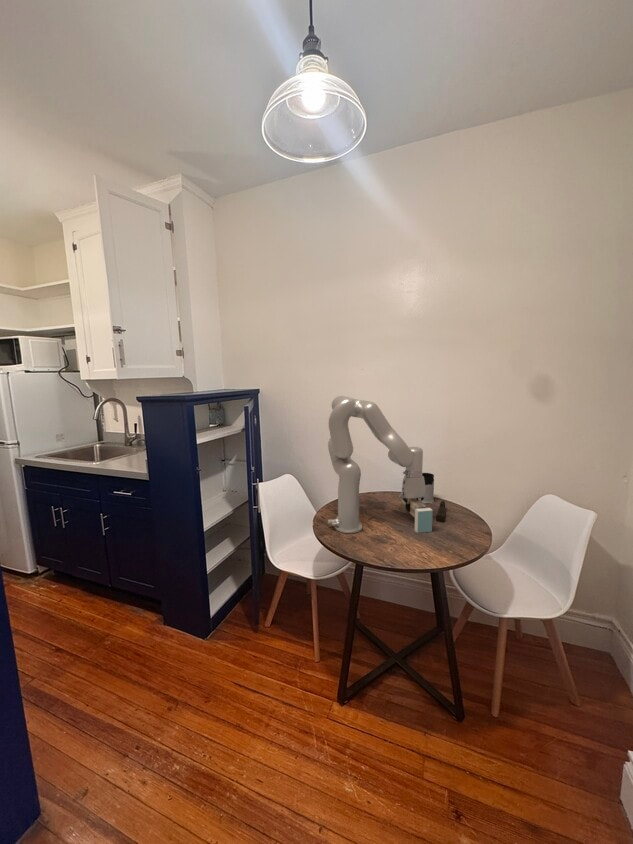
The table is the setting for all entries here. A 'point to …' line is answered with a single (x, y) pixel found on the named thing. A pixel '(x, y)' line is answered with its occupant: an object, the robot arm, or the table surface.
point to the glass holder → (428, 487)
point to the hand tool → (441, 512)
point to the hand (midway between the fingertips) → (412, 510)
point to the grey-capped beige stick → (413, 505)
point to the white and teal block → (423, 520)
